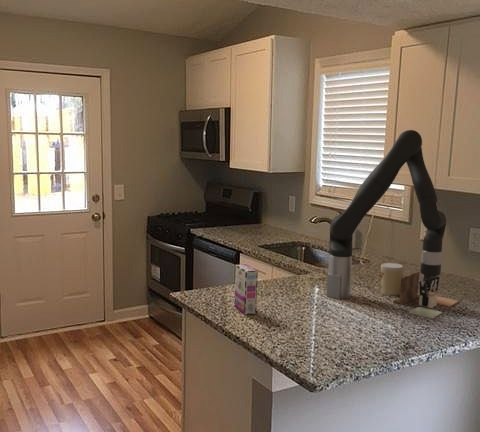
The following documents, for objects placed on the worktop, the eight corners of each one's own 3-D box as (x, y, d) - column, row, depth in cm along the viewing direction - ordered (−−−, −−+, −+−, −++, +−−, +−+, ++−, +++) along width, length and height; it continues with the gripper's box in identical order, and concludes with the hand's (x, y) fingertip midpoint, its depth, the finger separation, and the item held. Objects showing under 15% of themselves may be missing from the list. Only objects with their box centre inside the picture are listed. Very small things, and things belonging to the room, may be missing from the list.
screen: (402, 304, 205) (404, 277, 204) (392, 302, 208) (394, 275, 206) (417, 297, 215) (419, 271, 214) (408, 295, 218) (410, 269, 217)
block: (431, 308, 202) (432, 295, 201) (418, 305, 205) (419, 292, 205) (436, 305, 206) (437, 293, 205) (424, 302, 209) (425, 290, 208)
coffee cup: (382, 288, 228) (384, 261, 226) (404, 292, 223) (406, 264, 221) (376, 293, 220) (377, 265, 218) (398, 297, 215) (400, 269, 213)
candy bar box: (257, 314, 190) (258, 270, 188) (244, 315, 188) (245, 271, 186) (246, 305, 200) (247, 263, 198) (233, 306, 199) (234, 264, 196)
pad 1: (432, 318, 190) (432, 317, 189) (409, 312, 196) (409, 311, 195) (442, 313, 196) (442, 312, 196) (419, 307, 202) (419, 306, 202)
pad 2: (450, 306, 204) (450, 305, 204) (427, 301, 210) (427, 300, 210) (458, 302, 211) (458, 300, 211) (436, 297, 217) (436, 296, 217)
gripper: (433, 266, 195) (429, 310, 198) (447, 260, 206) (444, 302, 208) (413, 263, 200) (410, 305, 203) (429, 257, 211) (426, 298, 213)
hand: (427, 303), depth 205 cm, fingers closed on block, 5 cm apart
